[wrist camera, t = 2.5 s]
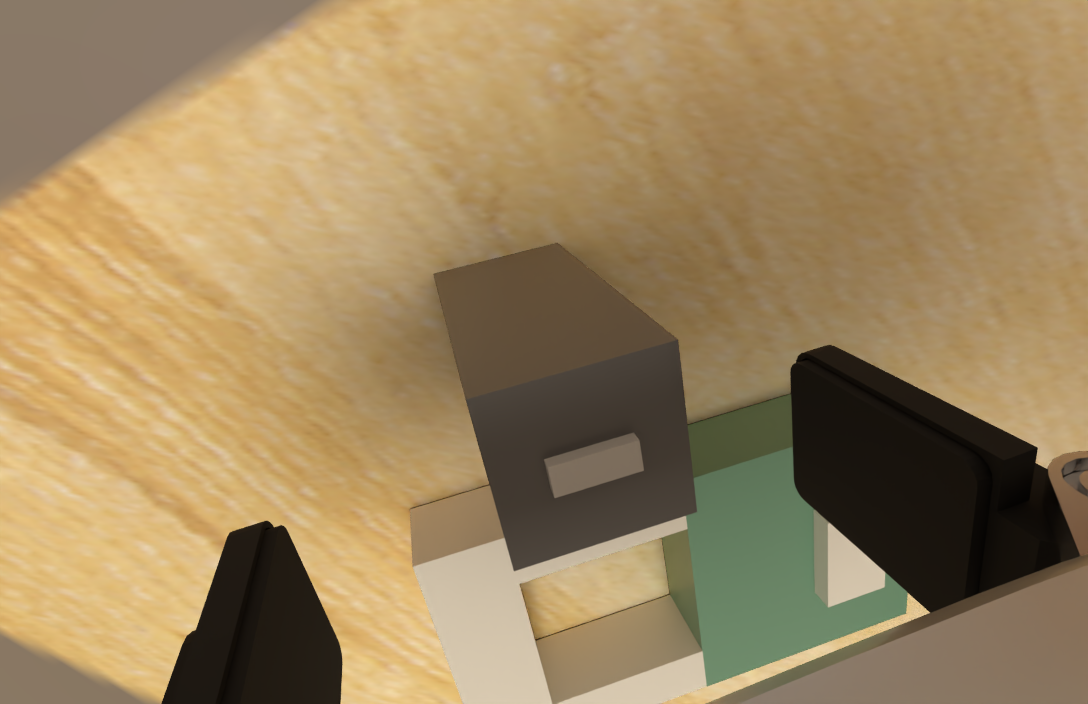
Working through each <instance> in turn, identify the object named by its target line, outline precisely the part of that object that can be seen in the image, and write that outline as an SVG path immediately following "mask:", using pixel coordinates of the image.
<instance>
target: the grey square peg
mask: <svg viewBox="0 0 1088 704" xmlns="http://www.w3.org/2000/svg"><path fill="white" fill-rule="evenodd" d="M434 278H435V282H436V286H437V290H438V293H439V297H440V301H441V305H442V309H443V313H444V317H445V321H446V325H447V328H448V332H449V336H450V340H451V344H452V348H453V352H454V356H455V359H456V363H457V367H458V371H459V375H460V379H461V383H462V387H463V391H464V394H465V398H466V402H467V406H468V409H469V413H470V416H471V420H472V423H473V427H474V431H475V434H476V438H477V441H478V445H479V448H480V452H481V456H482V459H483V463H484V466H485V470H486V474H487V477H488V481H489V484H490V488H491V491H492V495H493V499H494V502H495V506H496V509H497V513H498V516H499V520H500V524H501V527H502V531H503V534H504V538H505V541H506V545H507V549H508V552H509V556H510V559H511V563H512V567H513V570H514V571H517V570H520V569H523V568H526V567H529V566H532V565H535V564H539V563H542V562H545V561H548V560H551V559H554V558H557V557H560V556H563V555H566V554H569V553H573V552H576V551H579V550H582V549H585V548H588V547H591V546H594V545H597V544H600V543H603V542H606V541H610V540H613V539H616V538H619V537H622V536H625V535H628V534H631V533H634V532H637V531H640V530H643V529H647V528H650V527H653V526H656V525H659V524H662V523H665V522H668V521H671V520H674V519H677V518H681V517H684V516H687V515H690V514H693V513H696V512H697V505H696V496H695V487H694V478H693V469H692V460H691V451H690V442H689V433H688V424H687V416H686V407H685V398H684V389H683V380H682V371H681V362H680V353H679V344H678V339H676V338H675V337H674V336H673V335H671V334H670V333H669V332H668V331H666V330H665V329H664V328H663V327H661V326H660V325H659V324H658V323H656V322H655V321H654V320H653V319H651V318H650V317H649V316H648V315H646V314H645V313H644V312H643V311H641V310H640V309H639V308H638V307H636V306H635V305H634V304H633V303H631V302H630V301H629V300H628V299H626V298H625V297H624V296H623V295H621V294H620V293H619V292H618V291H617V290H615V289H614V288H613V287H612V286H610V285H609V284H608V283H607V282H605V281H604V280H603V279H602V278H600V277H599V276H598V275H597V274H595V273H594V272H593V271H592V270H590V269H589V268H588V267H587V266H585V265H584V264H583V263H582V262H580V261H579V260H578V259H577V258H575V257H574V256H573V255H572V254H570V253H569V252H568V251H567V250H565V249H564V248H563V247H562V246H560V245H559V244H558V243H555V244H551V245H547V246H543V247H539V248H535V249H531V250H527V251H523V252H519V253H515V254H511V255H507V256H503V257H499V258H495V259H491V260H487V261H483V262H479V263H475V264H471V265H467V266H463V267H459V268H455V269H451V270H447V271H443V272H439V273H435V274H434Z"/></svg>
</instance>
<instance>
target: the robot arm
mask: <svg viewBox="0 0 1088 704" xmlns="http://www.w3.org/2000/svg"><path fill="white" fill-rule="evenodd" d="M791 406H792V439H793V471H794V484H795V487H796V489H797V491H798V493H799V495H800V496H801V497H802V499H803V500H804V501H806V502H807V503H808V504H809V505H810V506H811V507H812V508H813V509H815V510H816V511H817V512H818V513H819V514H820V515H821V516H822V517H824V518H825V519H826V520H827V521H828V522H829V523H830V524H831V525H833V526H834V527H835V528H836V529H837V530H838V531H839V532H840V533H842V534H843V535H844V536H845V537H846V538H847V539H848V540H849V541H850V542H852V543H853V544H854V545H855V546H856V547H857V548H858V549H859V550H861V551H862V552H863V553H864V554H865V555H866V556H867V557H868V558H870V559H871V560H872V561H873V562H874V563H875V564H876V565H877V566H879V567H880V568H881V569H882V570H883V571H884V572H885V573H886V574H888V575H889V576H890V577H891V578H892V579H893V580H894V581H895V582H897V583H898V584H899V585H900V586H901V587H902V588H903V589H904V590H906V591H907V592H908V593H909V594H910V595H911V596H912V597H913V598H915V599H916V600H917V601H918V602H919V603H920V604H921V605H922V606H924V607H925V608H926V609H927V610H928V611H929V612H930V613H929V614H927V615H924V616H922V617H919V618H917V619H914V620H912V621H909V622H907V623H904V624H902V625H899V626H897V627H894V628H892V629H889V630H887V631H884V632H882V633H879V634H877V635H874V636H872V637H869V638H867V639H864V640H862V641H859V642H857V643H854V644H852V645H849V646H847V647H844V648H842V649H839V650H837V651H834V652H832V653H829V654H827V655H824V656H822V657H819V658H817V659H814V660H812V661H809V662H807V663H805V664H802V665H800V666H797V667H795V668H792V669H790V670H787V671H785V672H782V673H780V674H777V675H775V676H773V677H770V678H768V679H765V680H763V681H760V682H758V683H755V684H753V685H750V686H748V687H745V688H743V689H741V690H738V691H736V692H733V693H731V694H728V695H726V696H723V697H721V698H719V699H716V700H714V701H711V702H709V703H706V704H1088V451H1078V452H1072V453H1067V454H1063V455H1061V456H1059V457H1057V458H1055V459H1053V460H1052V462H1051V463H1050V464H1049V466H1048V469H1046V468H1044V467H1042V466H1040V465H1038V464H1036V463H1035V462H1036V456H1037V449H1038V448H1037V447H1035V446H1033V445H1031V444H1029V443H1027V442H1025V441H1023V440H1021V439H1019V438H1017V437H1015V436H1013V435H1011V434H1009V433H1007V432H1005V431H1003V430H1001V429H999V428H997V427H995V426H993V425H991V424H989V423H987V422H985V421H983V420H981V419H979V418H977V417H975V416H973V415H971V414H969V413H967V412H965V411H963V410H961V409H959V408H957V407H955V406H953V405H951V404H949V403H947V402H945V401H943V400H941V399H939V398H937V397H935V396H933V395H931V394H929V393H927V392H925V391H923V390H921V389H919V388H917V387H915V386H913V385H911V384H909V383H907V382H905V381H903V380H901V379H899V378H897V377H895V376H893V375H891V374H889V373H887V372H885V371H883V370H881V369H879V368H877V367H875V366H873V365H871V364H869V363H867V362H865V361H863V360H861V359H859V358H857V357H855V356H853V355H851V354H849V353H847V352H845V351H843V350H841V349H839V348H837V347H835V346H832V345H827V346H823V347H820V348H817V349H814V350H811V351H807V352H804V353H801V354H800V355H799V356H798V358H797V360H796V363H795V364H793V365H792V367H791ZM341 681H342V653H341V648H340V645H339V642H338V639H337V637H336V635H335V633H334V630H333V628H332V626H331V624H330V622H329V620H328V617H327V615H326V613H325V611H324V609H323V607H322V604H321V602H320V600H319V598H318V596H317V594H316V591H315V589H314V587H313V585H312V583H311V581H310V579H309V576H308V574H307V572H306V570H305V568H304V566H303V563H302V561H301V559H300V557H299V555H298V553H297V550H296V548H295V546H294V544H293V542H292V540H291V537H290V535H289V533H288V531H287V529H286V528H285V527H284V526H282V525H281V526H278V527H273V525H272V524H271V523H270V522H269V521H264V522H261V523H257V524H254V525H251V526H248V527H245V528H241V529H238V530H235V531H232V532H230V533H229V535H228V537H227V540H226V543H225V546H224V549H223V551H222V554H221V557H220V560H219V563H218V566H217V569H216V572H215V575H214V578H213V581H212V584H211V587H210V590H209V593H208V596H207V599H206V602H205V605H204V608H203V611H202V614H201V617H200V620H199V623H198V625H197V628H196V630H195V631H192V632H191V633H190V634H189V635H188V636H187V637H186V639H185V641H184V643H183V645H182V647H181V650H180V653H179V656H178V658H177V661H176V664H175V667H174V670H173V673H172V675H171V678H170V681H169V684H168V687H167V690H166V692H165V695H164V698H163V701H162V704H340V701H341Z"/></svg>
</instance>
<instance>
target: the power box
mask: <svg viewBox="0 0 1088 704" xmlns="http://www.w3.org/2000/svg"><path fill="white" fill-rule="evenodd" d="M688 433H689V442H690V451H691V460H692V469H693V478H694V487H695V496H696V505H697V512H696V513H693V514H690V515H687V516H684V517H681V518H677V519H674V520H671V521H668V522H665V523H662V524H659V525H656V526H653V527H650V528H647V529H643V530H640V531H637V532H634V533H631V534H628V535H625V536H622V537H619V538H616V539H613V540H610V541H606V542H603V543H600V544H597V545H594V546H591V547H588V548H585V549H582V550H579V551H576V552H573V553H569V554H566V555H563V556H560V557H557V558H554V559H551V560H548V561H545V562H542V563H539V564H535V565H532V566H529V567H526V568H523V569H520V570H517V571H514V570H513V567H512V563H511V559H510V556H509V552H508V549H507V545H506V541H505V538H504V534H503V531H502V527H501V524H500V520H499V516H498V513H497V509H496V506H495V502H494V499H493V495H492V491H491V488H490V485H488V486H485V487H482V488H478V489H475V490H472V491H469V492H465V493H462V494H459V495H455V496H452V497H449V498H445V499H442V500H439V501H436V502H432V503H429V504H426V505H422V506H419V507H416V508H412V509H410V521H411V542H412V563H413V569H414V572H415V574H416V577H417V580H418V583H419V585H420V588H421V591H422V593H423V596H424V599H425V602H426V604H427V607H428V610H429V613H430V615H431V618H432V621H433V623H434V626H435V629H436V632H437V634H438V637H439V640H440V642H441V645H442V648H443V651H444V653H445V656H446V659H447V661H448V664H449V667H450V670H451V672H452V675H453V678H454V681H455V683H456V686H457V689H458V691H459V694H460V697H461V700H462V702H463V704H661V703H663V702H666V701H669V700H671V699H674V698H677V697H680V696H682V695H685V694H688V693H690V692H693V691H696V690H699V689H701V688H704V687H707V686H710V685H712V684H715V683H718V682H720V681H723V680H726V679H729V678H731V677H734V676H737V675H740V674H742V673H745V672H748V671H750V670H753V669H756V668H759V667H761V666H764V665H767V664H769V663H772V662H775V661H778V660H780V659H783V658H786V657H789V656H791V655H794V654H797V653H799V652H802V651H805V650H808V649H810V648H813V647H816V646H818V645H821V644H824V643H827V642H829V641H832V640H835V639H838V638H840V637H843V636H846V635H848V634H851V633H854V632H857V631H859V630H862V629H865V628H868V627H870V626H873V625H876V624H878V623H881V622H884V621H887V620H889V619H892V618H895V617H897V616H900V615H903V614H906V607H907V591H906V590H904V589H903V588H902V587H901V586H900V585H899V584H898V583H897V582H895V581H894V580H893V579H892V578H891V577H890V576H889V575H888V574H886V573H885V572H884V571H883V570H882V569H881V568H880V567H879V566H877V565H876V564H875V563H874V562H873V561H872V560H871V559H870V558H868V557H867V556H866V555H865V554H864V553H863V552H862V551H861V550H859V549H858V548H857V547H856V546H855V545H854V544H853V543H852V542H850V541H849V540H848V539H847V538H846V537H845V536H844V535H843V534H842V533H840V532H839V531H838V530H837V529H836V528H835V527H834V526H833V525H831V524H830V523H829V522H828V521H827V520H826V519H825V518H824V517H822V516H821V515H820V514H819V513H818V512H817V511H816V510H815V509H813V508H812V507H811V506H810V505H809V504H808V503H807V502H806V501H804V500H803V499H802V497H801V496H800V495H799V493H798V491H797V489H796V487H795V484H794V471H793V439H792V406H791V394H789V395H786V396H782V397H779V398H776V399H772V400H769V401H766V402H762V403H759V404H756V405H753V406H749V407H746V408H743V409H739V410H736V411H733V412H729V413H726V414H723V415H720V416H716V417H713V418H710V419H706V420H703V421H700V422H696V423H693V424H690V425H688ZM659 538H662V543H663V550H664V557H665V564H666V571H667V578H668V584H669V591H670V595H668V596H665V597H662V598H659V599H656V600H653V601H650V602H647V603H644V604H641V605H638V606H636V607H633V608H630V609H627V610H624V611H621V612H618V613H615V614H612V615H609V616H606V617H603V618H600V619H597V620H595V621H592V622H589V623H586V624H583V625H580V626H577V627H574V628H571V629H568V630H565V631H562V632H559V633H557V634H554V635H551V636H548V637H545V638H542V639H539V640H536V641H535V638H534V634H533V630H532V627H531V623H530V620H529V616H528V612H527V609H526V605H525V602H524V598H523V594H522V591H521V587H520V584H521V583H524V582H527V581H530V580H534V579H537V578H540V577H543V576H546V575H549V574H552V573H555V572H558V571H561V570H564V569H567V568H570V567H573V566H576V565H579V564H582V563H585V562H588V561H592V560H595V559H598V558H601V557H604V556H607V555H610V554H613V553H616V552H619V551H622V550H625V549H628V548H631V547H634V546H637V545H640V544H643V543H646V542H649V541H653V540H656V539H659Z"/></svg>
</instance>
